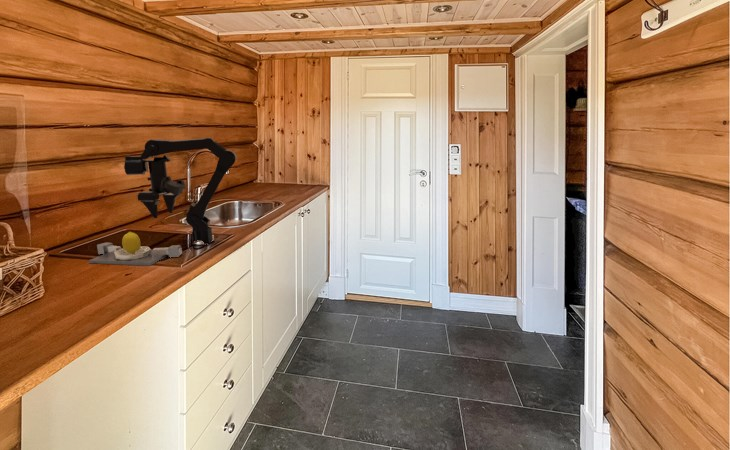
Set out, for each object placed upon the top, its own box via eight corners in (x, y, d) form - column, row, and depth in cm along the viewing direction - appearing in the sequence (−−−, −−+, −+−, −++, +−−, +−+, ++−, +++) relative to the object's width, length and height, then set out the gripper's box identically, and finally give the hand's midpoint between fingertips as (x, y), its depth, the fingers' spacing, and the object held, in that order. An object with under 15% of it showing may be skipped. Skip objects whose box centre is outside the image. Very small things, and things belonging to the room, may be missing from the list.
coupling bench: (186, 253, 146) (185, 244, 145) (162, 266, 132) (161, 256, 131) (107, 250, 150) (106, 241, 149) (76, 262, 136) (75, 252, 135)
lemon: (122, 257, 137) (118, 234, 135) (126, 252, 142) (122, 230, 140) (140, 255, 139) (136, 233, 137) (143, 251, 144) (140, 229, 142)
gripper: (163, 177, 138) (168, 221, 142) (192, 171, 156) (196, 211, 160) (133, 177, 140) (139, 220, 143) (166, 171, 158) (170, 210, 161)
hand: (163, 215), depth 152 cm, fingers open, 9 cm apart
